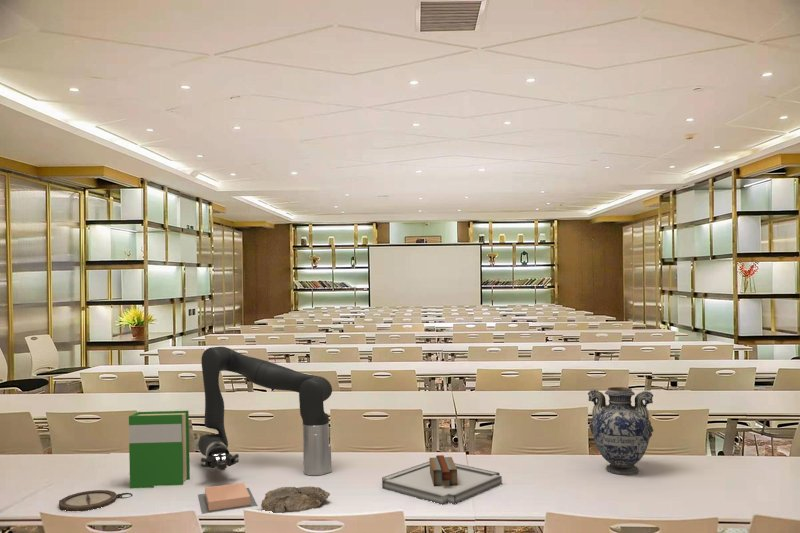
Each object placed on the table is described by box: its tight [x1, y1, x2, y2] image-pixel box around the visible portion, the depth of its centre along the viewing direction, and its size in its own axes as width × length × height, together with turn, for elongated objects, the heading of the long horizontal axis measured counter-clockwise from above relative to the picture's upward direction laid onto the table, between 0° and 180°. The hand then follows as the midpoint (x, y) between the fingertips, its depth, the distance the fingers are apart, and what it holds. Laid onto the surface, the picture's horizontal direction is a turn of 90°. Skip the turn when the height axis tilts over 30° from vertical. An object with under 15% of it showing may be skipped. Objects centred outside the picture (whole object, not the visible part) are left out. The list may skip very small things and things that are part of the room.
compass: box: [58, 489, 133, 512], centre depth 204 cm, size 20×16×2 cm
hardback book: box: [128, 410, 191, 489], centre depth 222 cm, size 18×7×24 cm, turn 90°
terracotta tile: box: [204, 482, 250, 511], centre depth 200 cm, size 12×3×15 cm
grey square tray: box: [381, 454, 503, 506], centre depth 213 cm, size 30×30×8 cm
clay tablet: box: [260, 486, 331, 513], centre depth 198 cm, size 14×5×20 cm
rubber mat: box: [197, 487, 258, 515], centre depth 201 cm, size 16×19×1 cm
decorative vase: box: [587, 386, 654, 476], centre depth 223 cm, size 21×19×28 cm
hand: (222, 466), depth 212 cm, fingers closed
